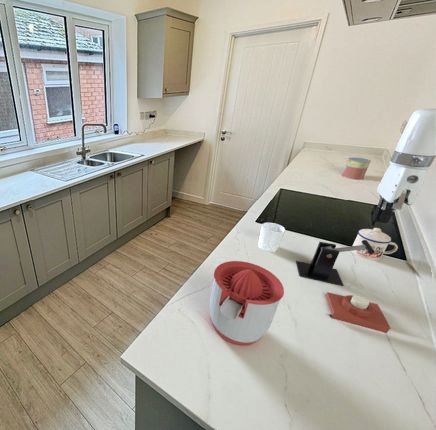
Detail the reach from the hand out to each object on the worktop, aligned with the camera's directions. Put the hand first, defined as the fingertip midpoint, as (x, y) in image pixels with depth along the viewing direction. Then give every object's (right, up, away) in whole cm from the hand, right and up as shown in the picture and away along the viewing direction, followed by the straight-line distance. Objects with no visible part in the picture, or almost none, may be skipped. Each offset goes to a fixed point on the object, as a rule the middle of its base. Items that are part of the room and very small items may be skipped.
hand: (379, 221), depth 77 cm
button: (-9, -24, -3) cm, 26 cm away
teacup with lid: (+19, -14, +23) cm, 33 cm away
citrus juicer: (-46, -30, -5) cm, 55 cm away
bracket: (-8, -19, +14) cm, 25 cm away
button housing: (-9, -27, -1) cm, 28 cm away
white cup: (-16, -12, +29) cm, 35 cm away
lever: (-3, -10, +7) cm, 13 cm away
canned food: (+87, +28, +104) cm, 138 cm away
